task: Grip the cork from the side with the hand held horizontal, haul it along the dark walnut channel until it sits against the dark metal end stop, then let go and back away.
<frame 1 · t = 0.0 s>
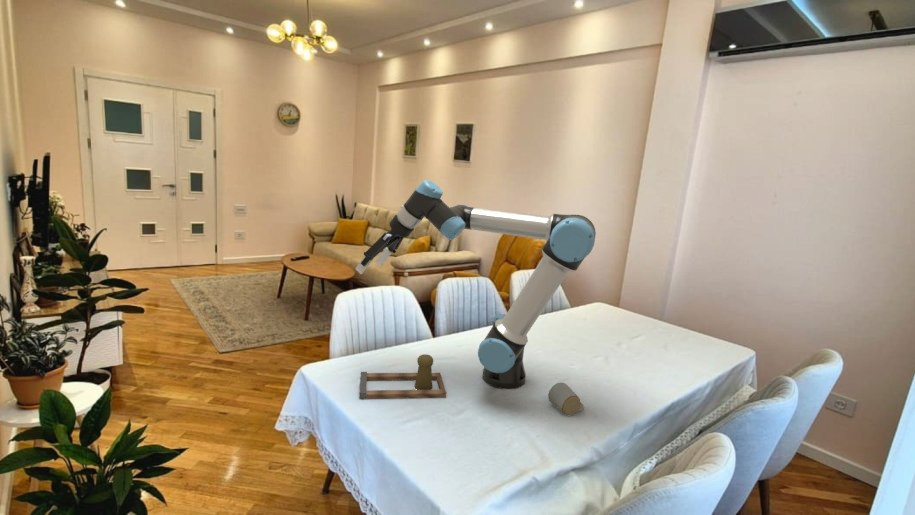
hand: (368, 267, 154), 36 cm above the table, tool tilted 35°, fingers open, 13 cm apart
walnut channel: (405, 387, 149), on the table
end stop: (363, 387, 146), on the table
cork: (423, 387, 150), on the table
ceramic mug: (566, 409, 144), on the table
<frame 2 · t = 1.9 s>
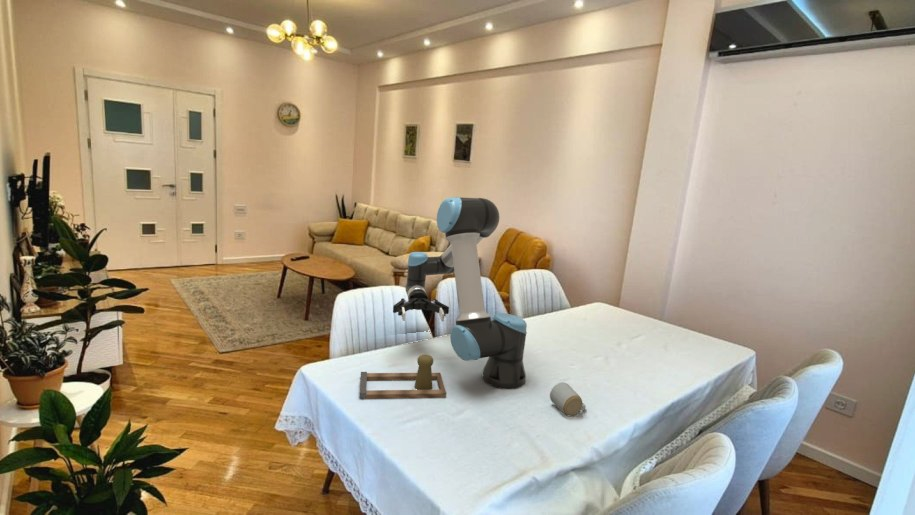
hand: (423, 317, 157), 20 cm above the table, tool horizontal, fingers open, 13 cm apart
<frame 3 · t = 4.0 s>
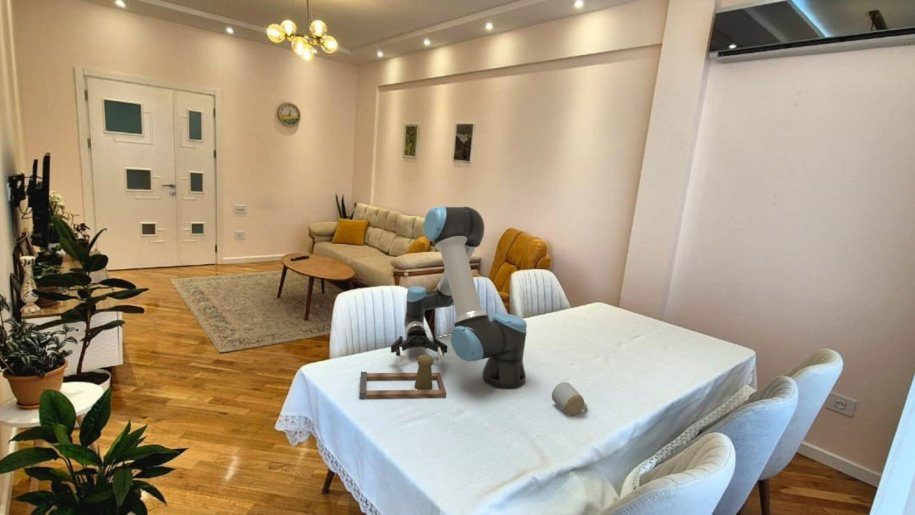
hand: (421, 358, 155), 7 cm above the table, tool horizontal, fingers open, 13 cm apart
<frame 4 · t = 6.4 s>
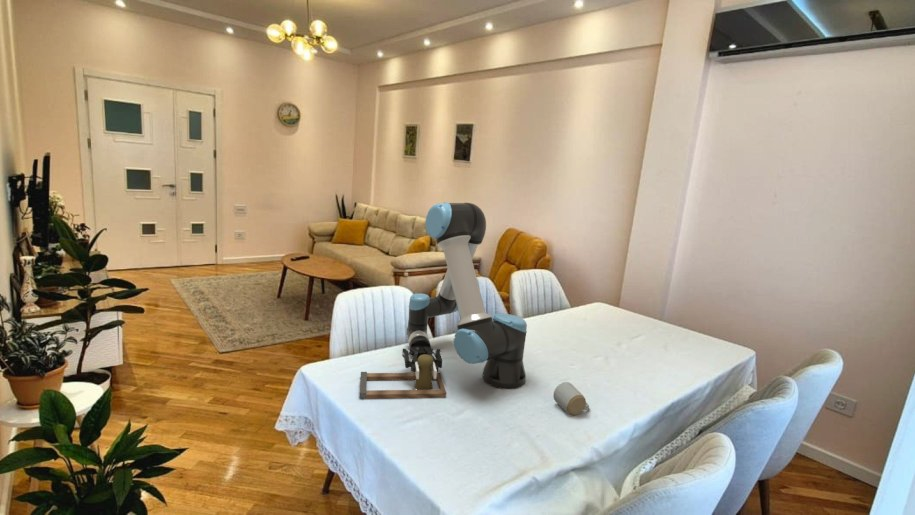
hand: (426, 375, 143), 7 cm above the table, tool horizontal, fingers closed on cork, 5 cm apart
cork: (423, 387, 150), on the table, touching gripper
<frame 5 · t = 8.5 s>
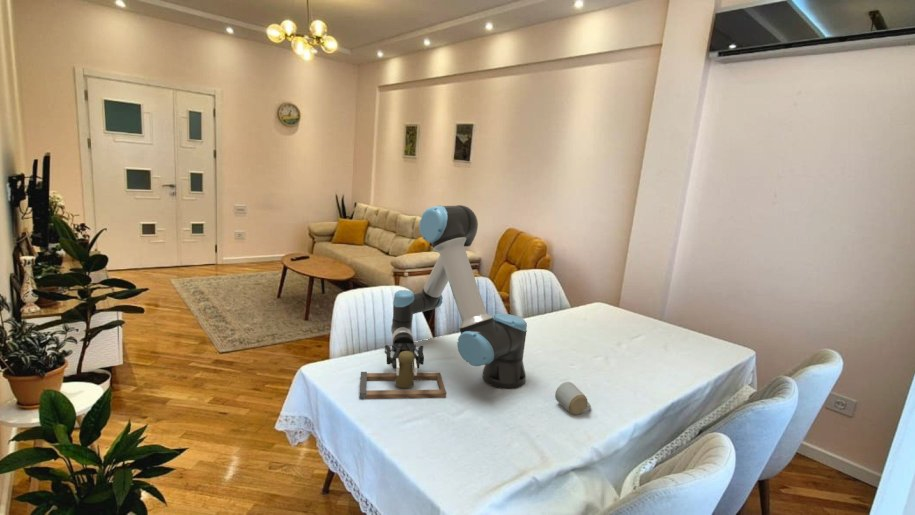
hand: (406, 371, 143), 8 cm above the table, tool horizontal, fingers closed on cork, 5 cm apart
cork: (404, 384, 150), on the table, touching gripper
when the fingers open (7 cm above the table, at t = 10.7 s): cork moves 2 cm, on the table.
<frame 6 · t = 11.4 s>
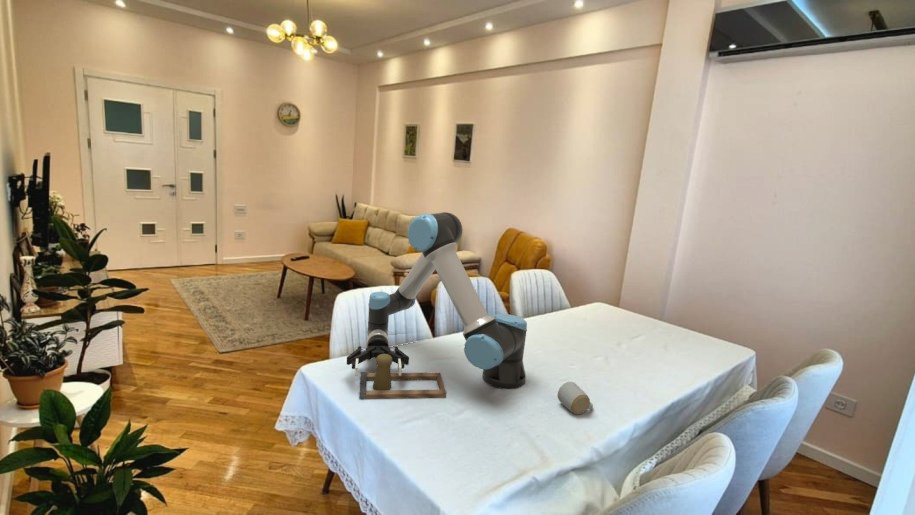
hand: (378, 371, 142), 7 cm above the table, tool horizontal, fingers open, 13 cm apart
cork: (382, 387, 148), on the table
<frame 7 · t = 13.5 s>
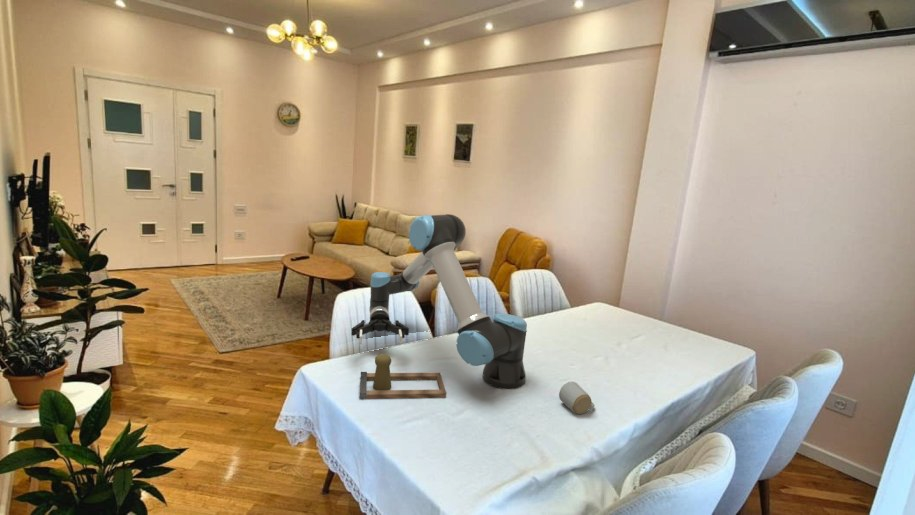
hand: (381, 340, 155), 12 cm above the table, tool horizontal, fingers open, 13 cm apart
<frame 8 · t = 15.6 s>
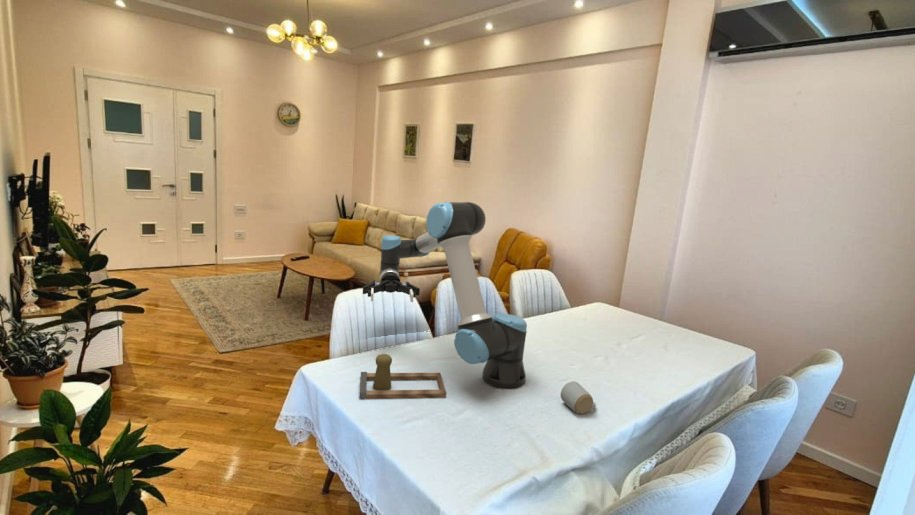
hand: (392, 298, 155), 26 cm above the table, tool horizontal, fingers open, 13 cm apart
at the end: cork 1.6 cm from the target spot, on the table; cork tilted 1°; the gripper is holding nothing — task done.
